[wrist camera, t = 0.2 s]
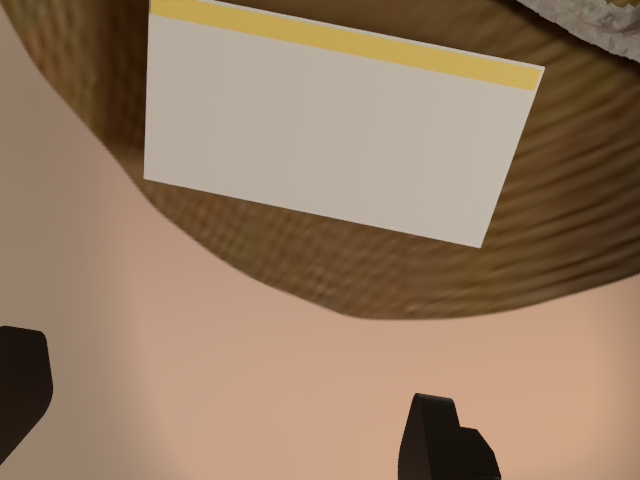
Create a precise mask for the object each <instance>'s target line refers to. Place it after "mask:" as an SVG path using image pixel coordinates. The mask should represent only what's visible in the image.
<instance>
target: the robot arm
mask: <svg viewBox="0 0 640 480" xmlns="http://www.w3.org/2000/svg"><path fill="white" fill-rule="evenodd" d="M52 394H53V382H52V375H51V368H50V361H49V355H48V347H47V340H46V337H45V335H44V334H43V333H42V332H41V331H36V330H30V329H24V328H17V327H11V326H1V327H0V465H1V464H2V463H3V462H4V461H5V459H6V458H7V457H8V456H9V455H10V454H11V452H12V451H13V450H14V449H15V448H16V447H17V446H18V444H19V443H20V442H21V441H22V440H23V438H24V437H25V436H26V435H27V434H28V433H29V432H30V431H31V429H32V428H33V427H34V426H35V425H36V424H37V422H38V421H39V420H40V419H41V418H42V417H43V415H44V414H45V412H46V410H47V409H48V407H49V404H50V402H51V399H52ZM398 480H501V474H500V471H499V467H498V464H497V462H496V458H495V455H494V452H493V450H492V449H491V448H490V446H489V445H488V444H487V442H486V441H485V440H484V438H483V437H482V436H481V434H480V433H479V432H478V430H477V429H472V428H465V427H460V424H459V420H458V416H457V412H456V408H455V404H454V401H453V400H452V399H450V398H445V397H438V396H432V395H426V394H420V393H416V394H415V395H414V397H413V400H412V404H411V408H410V411H409V415H408V419H407V423H406V426H405V430H404V434H403V438H402V442H401V446H400V452H399V459H398Z"/></svg>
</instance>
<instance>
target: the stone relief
mask: <svg viewBox="0 0 640 480" xmlns="http://www.w3.org/2000/svg"><path fill="white" fill-rule="evenodd" d="M517 1H519V2H520V3H522V4H524V5H525V6H527V7H529V8H531V9H532V10H534V11H535V12H536V13H539V15H540V16H542V17H544V18H546V19H548V20H549V21H551V22H553V23H554V22H556V24H558V25H559V26H561V27H563V28H565V29H567V30H568V31H569V33H571V34H573V35H575V36H577V37H579V38H580V39H582V40H585V41H587V42H589V43H591V44H596V45H597V46H599V47H601V48H603V49H604V50H606V51H609V53H612V54H617V55H619V56H622V57H623V56H625V57H628V58H629V59H634V60H636V61H637V62H639V63H640V3H639V4H638V5H637V6H636V7H635V8H634V7H633V6H631V5H630V4H629V3H628V4H627V5H626V7H624V8H620V7H617V6H615V5H614V4H613V3H609V2H607V1H605V0H517Z"/></svg>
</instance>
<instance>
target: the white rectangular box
mask: <svg viewBox="0 0 640 480" xmlns="http://www.w3.org/2000/svg"><path fill="white" fill-rule="evenodd" d="M544 69H545V67H542V66H537V65H532V64H527V63H523V62H518V61H513V60H508V59H503V58H498V57H493V56H488V55H483V54H478V53H473V52H468V51H463V50H458V49H453V48H448V47H443V46H438V45H433V44H428V43H423V42H418V41H413V40H408V39H403V38H398V37H393V36H388V35H383V34H379V33H374V32H369V31H364V30H359V29H354V28H349V27H344V26H339V25H334V24H329V23H324V22H319V21H314V20H309V19H304V18H299V17H294V16H289V15H284V14H279V13H274V12H269V11H264V10H259V9H254V8H249V7H244V6H239V5H235V4H230V3H225V2H220V1H215V0H149V26H148V58H147V91H146V124H145V157H144V179H148V180H152V181H157V182H162V183H167V184H172V185H177V186H182V187H186V188H191V189H196V190H201V191H206V192H211V193H215V194H220V195H225V196H230V197H235V198H240V199H245V200H249V201H254V202H259V203H264V204H269V205H274V206H278V207H283V208H288V209H293V210H298V211H303V212H307V213H312V214H317V215H322V216H327V217H332V218H337V219H341V220H346V221H351V222H356V223H361V224H366V225H370V226H375V227H380V228H385V229H390V230H395V231H400V232H404V233H409V234H414V235H419V236H424V237H429V238H433V239H438V240H443V241H448V242H453V243H458V244H463V245H467V246H472V247H477V248H481V245H482V242H483V239H484V236H485V234H486V231H487V228H488V225H489V223H490V220H491V217H492V214H493V211H494V209H495V206H496V203H497V200H498V197H499V195H500V192H501V189H502V186H503V184H504V181H505V178H506V175H507V172H508V170H509V167H510V164H511V161H512V158H513V156H514V153H515V150H516V147H517V145H518V142H519V139H520V136H521V133H522V131H523V128H524V125H525V122H526V119H527V117H528V114H529V111H530V108H531V105H532V103H533V100H534V97H535V94H536V92H537V89H538V86H539V83H540V80H541V78H542V75H543V72H544Z"/></svg>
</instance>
